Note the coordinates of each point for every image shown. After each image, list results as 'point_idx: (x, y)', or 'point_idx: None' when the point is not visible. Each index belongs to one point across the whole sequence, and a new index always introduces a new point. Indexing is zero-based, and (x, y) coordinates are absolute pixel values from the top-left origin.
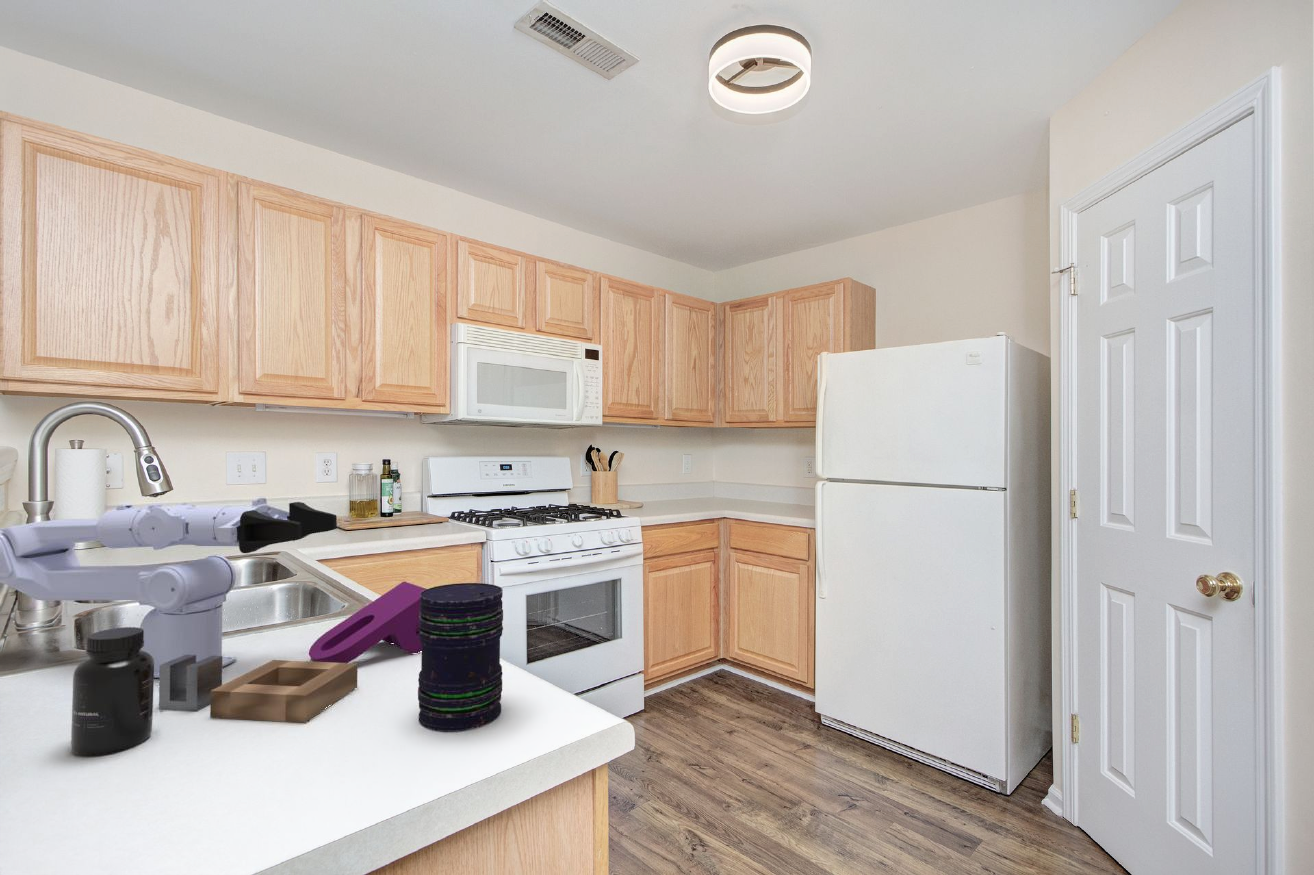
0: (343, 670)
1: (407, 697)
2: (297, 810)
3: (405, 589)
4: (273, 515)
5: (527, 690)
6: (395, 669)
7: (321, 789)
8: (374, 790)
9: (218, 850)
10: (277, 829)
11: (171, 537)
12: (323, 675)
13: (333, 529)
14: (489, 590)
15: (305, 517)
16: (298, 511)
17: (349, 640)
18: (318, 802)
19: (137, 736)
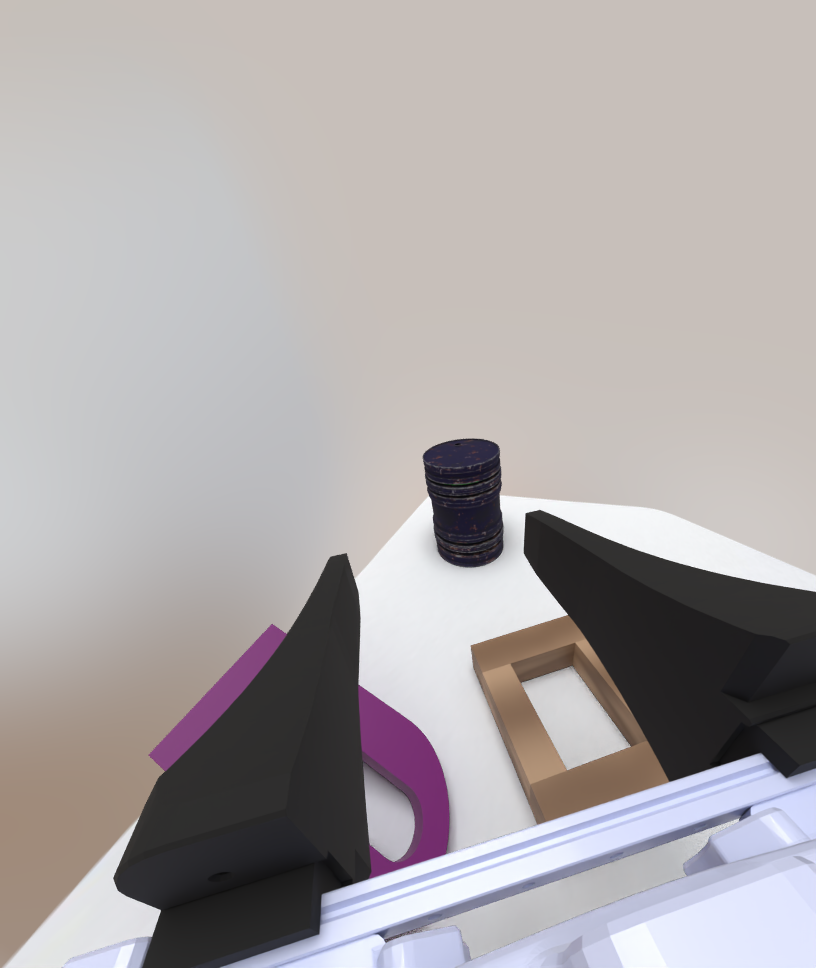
0: (500, 640)
1: (464, 596)
2: (634, 531)
3: (216, 711)
4: None
5: (407, 536)
6: (397, 673)
7: (611, 538)
8: (581, 520)
9: (693, 531)
10: (651, 526)
11: None
12: (530, 648)
13: (358, 593)
14: (441, 448)
15: (337, 689)
16: (324, 723)
17: (395, 750)
18: (618, 530)
19: None
